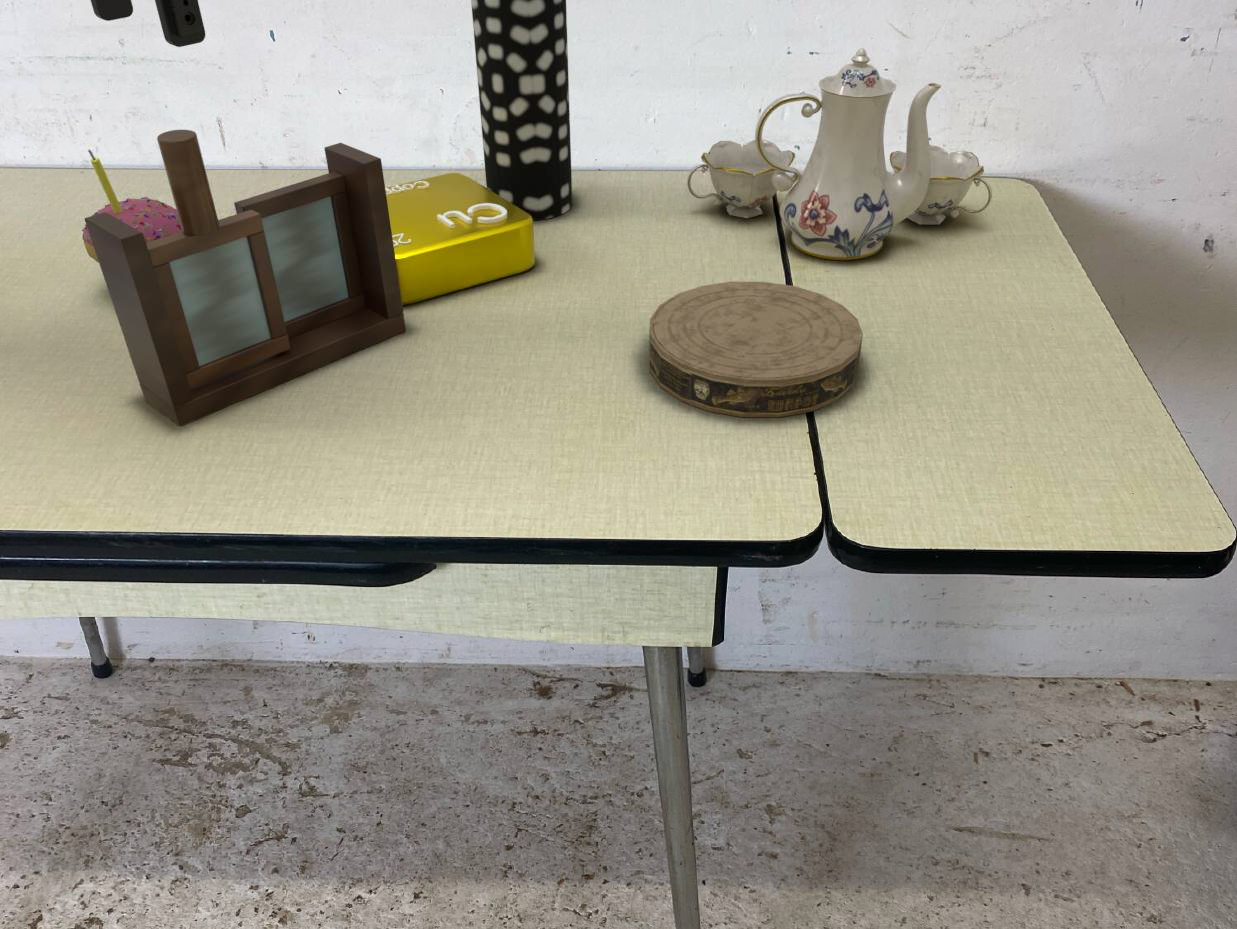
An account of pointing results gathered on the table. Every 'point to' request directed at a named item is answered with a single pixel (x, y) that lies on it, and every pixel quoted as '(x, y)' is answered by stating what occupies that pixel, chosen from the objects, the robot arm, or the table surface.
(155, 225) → the cupcake
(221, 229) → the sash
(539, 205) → the spotted tube
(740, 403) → the brown flat banded disc
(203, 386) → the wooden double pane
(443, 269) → the element tile
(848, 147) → the chinaware
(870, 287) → the table surface
